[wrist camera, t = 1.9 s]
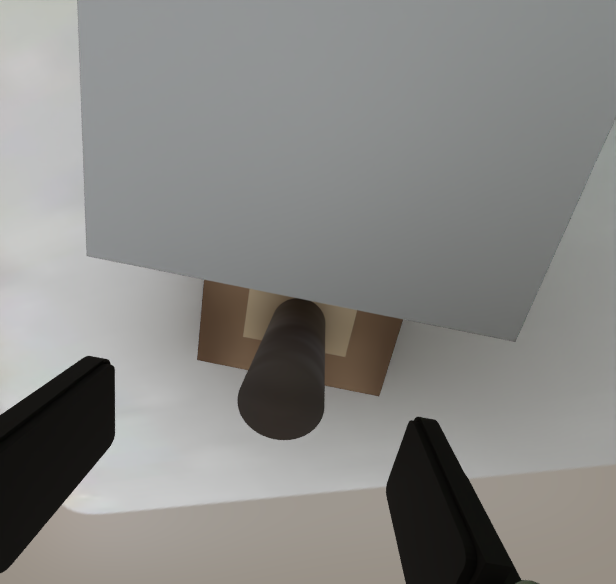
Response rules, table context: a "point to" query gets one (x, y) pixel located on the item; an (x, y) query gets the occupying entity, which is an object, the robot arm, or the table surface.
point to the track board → (338, 370)
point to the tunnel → (346, 145)
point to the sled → (290, 362)
